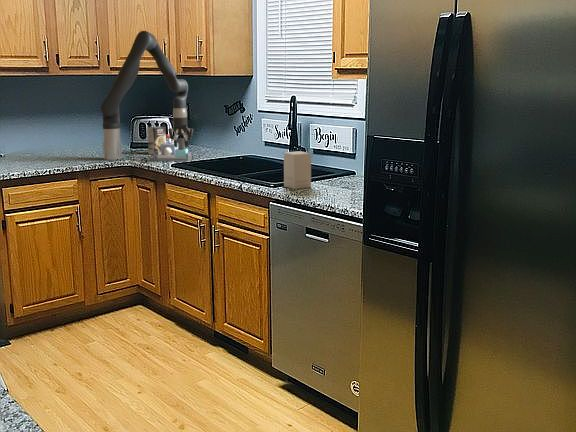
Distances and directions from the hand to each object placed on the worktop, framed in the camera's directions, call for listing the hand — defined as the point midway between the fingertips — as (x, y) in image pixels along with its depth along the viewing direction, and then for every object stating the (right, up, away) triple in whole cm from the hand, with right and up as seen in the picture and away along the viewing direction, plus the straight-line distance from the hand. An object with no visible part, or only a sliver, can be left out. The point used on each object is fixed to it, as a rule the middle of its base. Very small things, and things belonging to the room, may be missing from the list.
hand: (181, 147), depth 352 cm
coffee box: (-19, -1, +28) cm, 34 cm away
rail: (-5, -7, +3) cm, 9 cm away
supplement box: (+63, -26, -75) cm, 101 cm away
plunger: (-9, +3, +12) cm, 15 cm away
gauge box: (-9, -4, +14) cm, 17 cm away
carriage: (0, -6, +1) cm, 6 cm away
